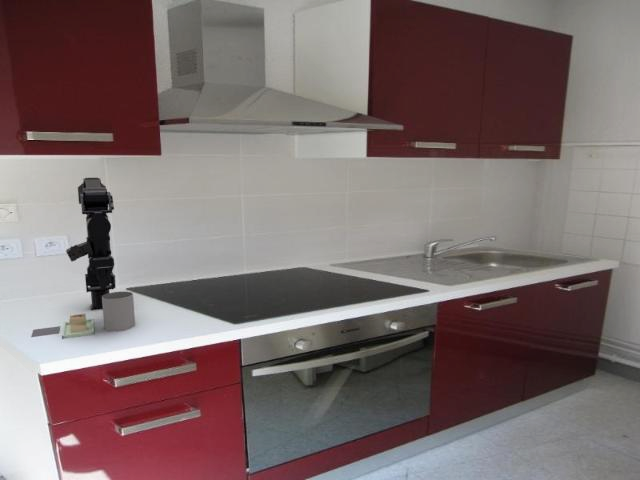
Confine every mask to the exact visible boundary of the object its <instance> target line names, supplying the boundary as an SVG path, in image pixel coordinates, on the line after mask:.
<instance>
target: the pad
mask: <svg viewBox="0 0 640 480" xmlns="http://www.w3.org/2000/svg"><path fill="white" fill-rule="evenodd" d="M60 331H61V325H59V326H58V325H57V326H52V327H51V326H50V327H44V328H36V329H33V330H32V333H31V335H30V337H31V338H37V337H43V336H50V335H51V336H52V335H57V334H60Z"/></svg>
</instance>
